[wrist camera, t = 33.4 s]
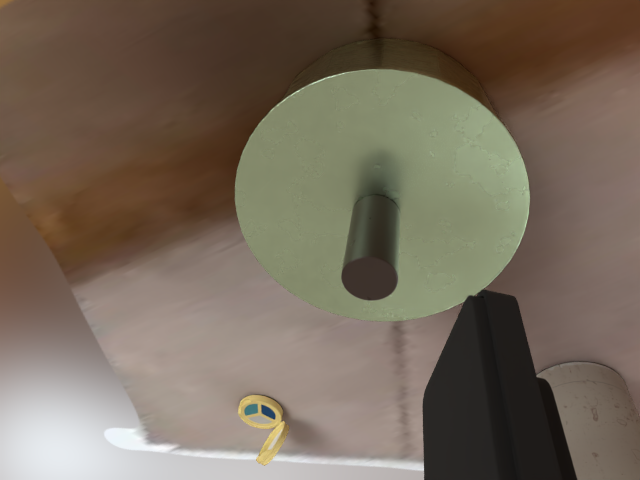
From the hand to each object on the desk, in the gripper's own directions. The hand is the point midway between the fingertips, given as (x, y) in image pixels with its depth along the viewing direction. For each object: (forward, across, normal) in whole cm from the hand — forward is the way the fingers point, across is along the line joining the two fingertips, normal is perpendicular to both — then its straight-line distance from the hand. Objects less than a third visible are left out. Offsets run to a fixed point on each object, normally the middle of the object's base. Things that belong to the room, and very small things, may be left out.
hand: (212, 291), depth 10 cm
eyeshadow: (+24, +1, +38) cm, 45 cm away
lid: (+17, -4, +8) cm, 19 cm away
